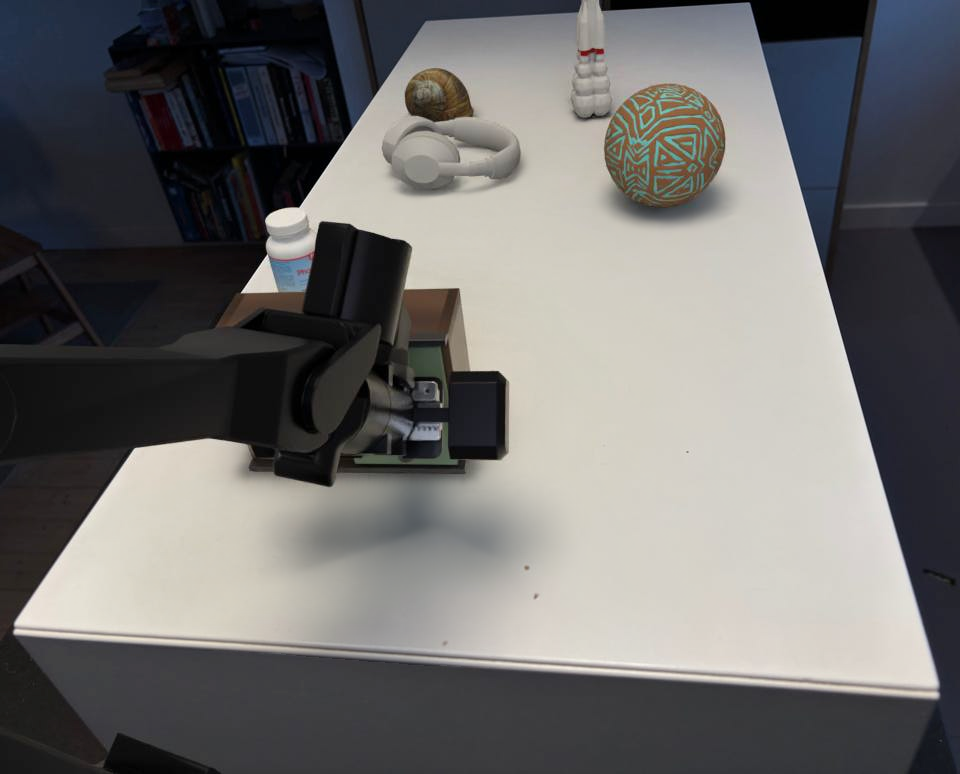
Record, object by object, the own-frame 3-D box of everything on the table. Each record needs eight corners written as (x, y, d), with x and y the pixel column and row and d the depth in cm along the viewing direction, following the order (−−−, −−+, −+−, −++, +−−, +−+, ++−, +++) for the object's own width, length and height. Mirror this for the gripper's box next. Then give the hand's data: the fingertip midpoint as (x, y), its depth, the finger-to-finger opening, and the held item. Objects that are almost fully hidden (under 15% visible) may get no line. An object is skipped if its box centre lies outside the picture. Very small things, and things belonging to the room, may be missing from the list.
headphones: (403, 205, 112) (537, 191, 118) (402, 150, 108) (541, 138, 114) (373, 159, 126) (494, 148, 132) (370, 108, 122) (496, 99, 127)
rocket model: (597, 125, 130) (595, -89, 112) (560, 118, 134) (552, -90, 116) (622, 110, 134) (624, -99, 116) (585, 103, 138) (581, -100, 120)
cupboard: (465, 473, 71) (445, 339, 62) (249, 471, 74) (200, 343, 65) (476, 412, 78) (459, 283, 69) (276, 413, 81) (235, 289, 72)
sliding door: (451, 496, 68) (431, 377, 60) (344, 495, 70) (311, 378, 62) (458, 460, 72) (440, 343, 64) (356, 459, 73) (326, 344, 65)
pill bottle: (318, 320, 93) (295, 232, 86) (273, 313, 95) (247, 227, 88) (343, 292, 97) (323, 206, 90) (300, 286, 99) (276, 202, 92)
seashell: (404, 130, 137) (397, 82, 132) (411, 110, 144) (404, 64, 139) (471, 125, 135) (466, 77, 130) (475, 105, 143) (470, 58, 138)
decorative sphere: (738, 188, 108) (751, 74, 99) (688, 237, 100) (697, 117, 90) (638, 169, 116) (640, 61, 107) (583, 213, 107) (580, 99, 98)
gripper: (495, 278, 51) (519, 324, 66) (213, 285, 53) (299, 327, 69) (493, 458, 49) (519, 462, 65) (205, 455, 52) (295, 460, 68)
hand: (405, 423), depth 66 cm, fingers closed on sliding door, 2 cm apart
